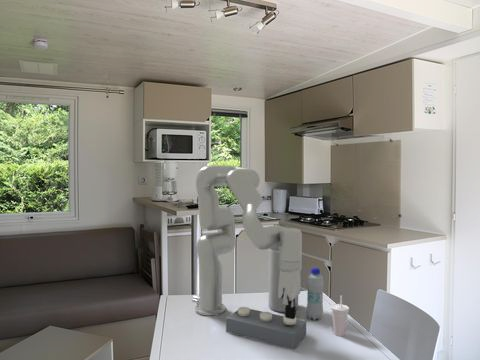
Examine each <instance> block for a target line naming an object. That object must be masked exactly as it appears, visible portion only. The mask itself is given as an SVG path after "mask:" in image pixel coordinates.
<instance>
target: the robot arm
mask: <svg viewBox="0 0 480 360" xmlns="http://www.w3.org/2000/svg"><path fill="white" fill-rule="evenodd" d="M260 179H261V178H260V175H259V174H258V172H257V171H256V170H255V169H252V168H247V167H240V166H237V165H220V164H219V165H218V164H215V165H214V164H213V165H212V164H211V165H206V166H204V167H202V168H201V169H199V170H198V172H197V173H196V177H195V188H196V193H197V194H196V195H197V201H198V202H197V203H198V220H199V227H200V228H201V230H203V231H206V232H208V231H216V230H217V232H213V233H212V232H211V233H208V234H207V233H206V234H204V235H202V236H201V237H199V238H198V239H197V242H196V251H197V258H198V273H199V274H198V295H193V296H192V300H191V302H192V303H195V304H196V306H195V307H194V310H195V312H196V313H197V314H199V315H201V316H218V315H220V314H223V313H224V312H225V311H226V310H227V307H226V305H225V304H224V303H223V264H222V263H221V261H220V259H219V257H220V256H223V255H226V254H227V255H228V254H229V253H231V252H233V251H234V249H235V247H236V226H235V225H236V224H235V223H236V222H235V215H234V212H233V211H232V209H231V208H229V207H228V206H225V205H221V206H220V200H219V199H220V198H219V195H218V192H217V190H216V189H215V187H228V188H229V189H230V191H231V193H232V195H233V196H234V198H235V199H236V201H237V203H238V204H239V206H240V208H241V209H242V217H241V218H242V225H243V226H242V227H243V229H244V232H245V233H246V236H247V237H248V238H249V240H250V242H251V243H252V245H253V246H254V247H256V248H257V249H258V250H261V251H262V250H263V251H265V250H269V248H273V247H278V246H280V276H279V288H278V298H279V299H282V298H283V297H284V298H283V305H285V312H284V316H285V317H286V318H290V319H294V318H295V317H296V318H297V316H296V315H297V314H296V313H297V312H296V310H297V309H296V297H297V296H298V297H299V295H300V294H301V290H302V280H301V279H302V276H301V271H302V270H303V264H302V263H303V259H302V258H303V257H302V256H303V250H302V248H303V241H302V240H303V233H302V231H301V229H299V228H294V227H293V228H292V227H285V226H283V225H279V224H275V225H269V226H263V224H262V223H261V221H260V219H259V217H258V214H257V213H258V212H257V209H259V207H260V206H261V205H262V203H263V201H264V200H263V197H262V195H261V194H260V192H259V191H258V189H257V188H258V187H259V186H260V182H261V180H260Z"/></svg>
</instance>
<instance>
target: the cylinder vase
mask: <svg viewBox="0 0 480 360" xmlns="http://www.w3.org/2000/svg"><path fill="white" fill-rule="evenodd" d="M279 276H280V246H278V247H273V248H269V249H268V308H269V309H270V310H272V311H274V312H276V313H278V312H279V313H285V305H283V298H284V297H283V298H282V299H279V298H278V288H279ZM298 308H299V295H298V296H297V297H296V310H298Z"/></svg>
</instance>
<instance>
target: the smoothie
mask: <svg viewBox="0 0 480 360" xmlns="http://www.w3.org/2000/svg"><path fill="white" fill-rule="evenodd" d="M330 311H331V316H332V317H331V318H332V326H333V334H334V335H336V336H338V337H343V336H345V334H346V329H347V323H348V322H347V321H348V316H349V312H350V307H349V306H348V305H346V304H343V295H340V300H339V303H334V304H332V305H331V306H330Z"/></svg>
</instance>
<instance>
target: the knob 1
mask: <svg viewBox="0 0 480 360" xmlns="http://www.w3.org/2000/svg"><path fill="white" fill-rule="evenodd" d="M250 309H251V308H250V307H247V306H241V307H238V309H237V310H238V315H239V316H249V315H250Z"/></svg>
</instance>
